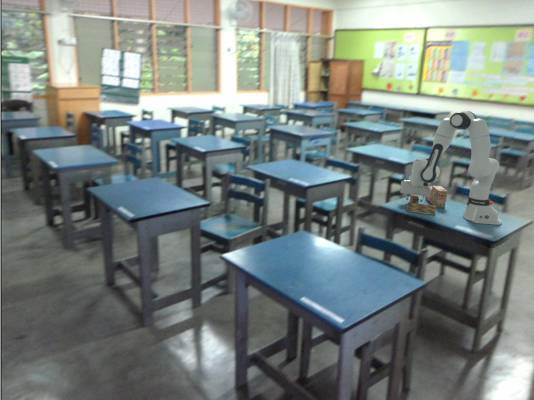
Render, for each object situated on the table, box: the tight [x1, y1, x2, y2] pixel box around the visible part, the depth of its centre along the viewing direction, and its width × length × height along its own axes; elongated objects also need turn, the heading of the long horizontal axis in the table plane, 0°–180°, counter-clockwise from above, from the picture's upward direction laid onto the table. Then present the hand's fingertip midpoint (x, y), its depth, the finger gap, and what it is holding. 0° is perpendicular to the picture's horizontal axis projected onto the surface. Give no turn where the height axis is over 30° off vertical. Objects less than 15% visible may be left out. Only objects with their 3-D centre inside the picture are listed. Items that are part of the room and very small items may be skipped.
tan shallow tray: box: [406, 201, 437, 216], centre depth 294 cm, size 18×10×3 cm, turn 70°
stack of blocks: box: [424, 185, 448, 208], centre depth 311 cm, size 21×6×12 cm, turn 1°
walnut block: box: [409, 194, 420, 204], centre depth 308 cm, size 12×4×6 cm, turn 169°
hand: (414, 200), depth 308 cm, fingers open, 8 cm apart
